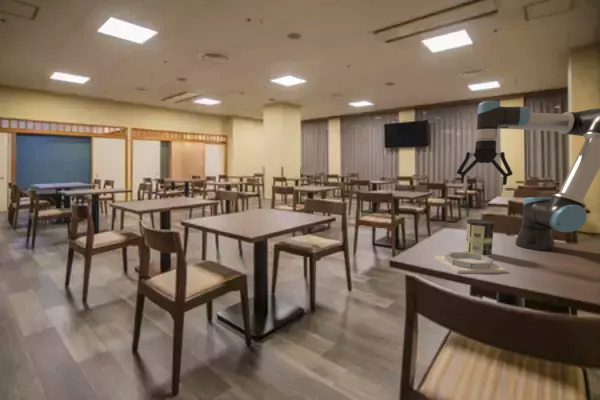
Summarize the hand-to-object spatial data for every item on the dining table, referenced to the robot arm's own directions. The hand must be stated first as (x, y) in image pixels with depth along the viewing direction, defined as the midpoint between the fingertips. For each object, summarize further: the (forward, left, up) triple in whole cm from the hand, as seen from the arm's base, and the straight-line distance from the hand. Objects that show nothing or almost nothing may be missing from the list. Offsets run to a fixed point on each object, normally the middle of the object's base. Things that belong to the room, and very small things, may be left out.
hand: (482, 192), depth 143 cm
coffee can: (0, 0, -27) cm, 27 cm away
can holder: (+13, +15, -26) cm, 33 cm away
